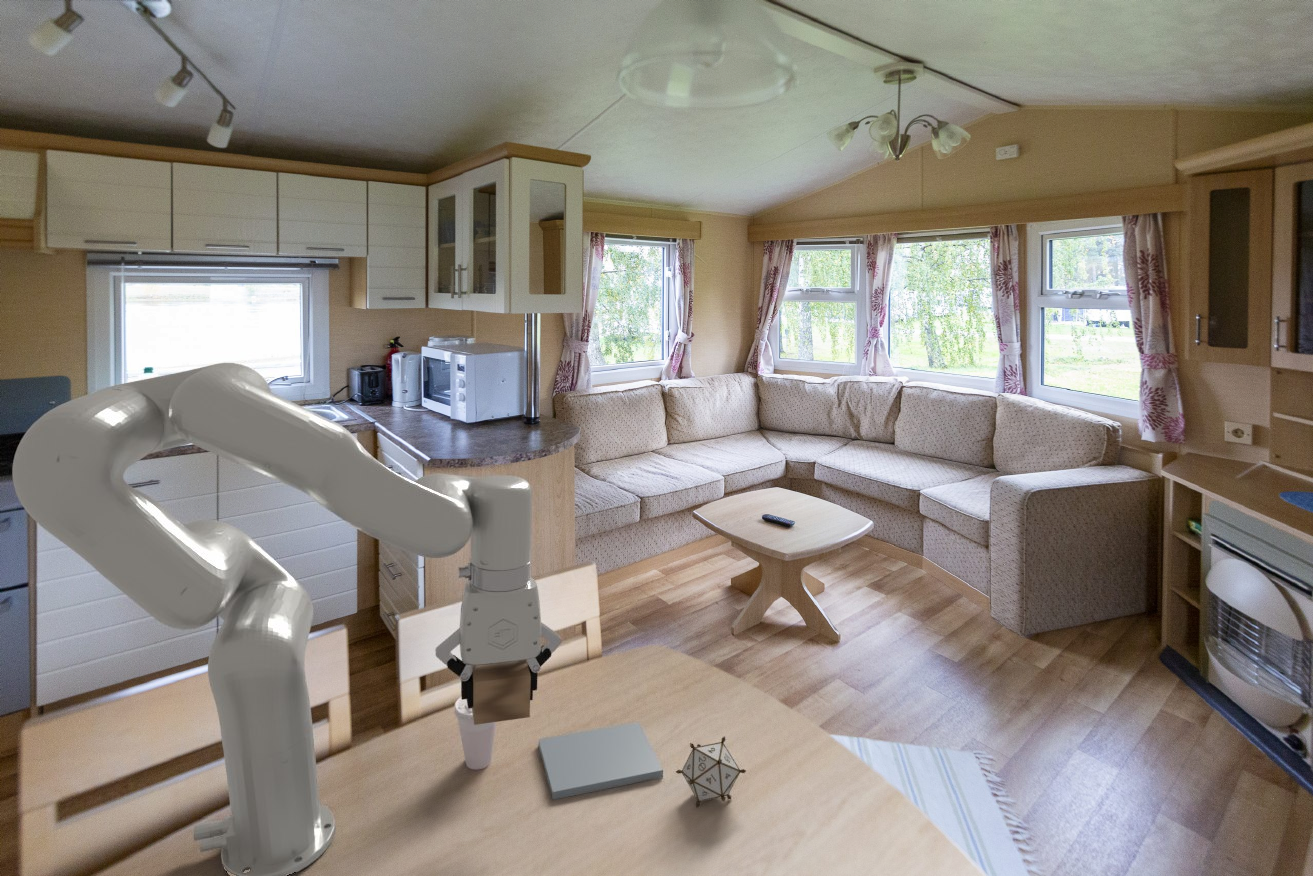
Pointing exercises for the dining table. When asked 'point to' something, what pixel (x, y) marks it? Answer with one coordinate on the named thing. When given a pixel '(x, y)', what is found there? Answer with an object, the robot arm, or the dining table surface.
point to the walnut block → (501, 692)
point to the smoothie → (474, 737)
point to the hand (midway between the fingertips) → (499, 697)
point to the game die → (710, 771)
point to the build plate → (598, 759)
